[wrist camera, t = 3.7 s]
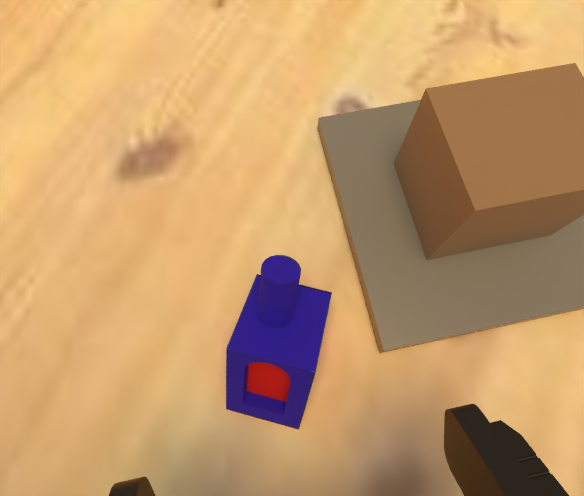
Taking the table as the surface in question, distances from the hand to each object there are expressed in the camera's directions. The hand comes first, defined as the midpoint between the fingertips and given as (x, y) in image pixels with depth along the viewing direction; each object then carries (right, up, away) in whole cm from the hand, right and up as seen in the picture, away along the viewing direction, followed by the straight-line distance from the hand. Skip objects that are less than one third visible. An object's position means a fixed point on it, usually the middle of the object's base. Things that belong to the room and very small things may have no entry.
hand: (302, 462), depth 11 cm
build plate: (+10, +8, +13) cm, 18 cm away
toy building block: (-1, 0, +10) cm, 10 cm away
